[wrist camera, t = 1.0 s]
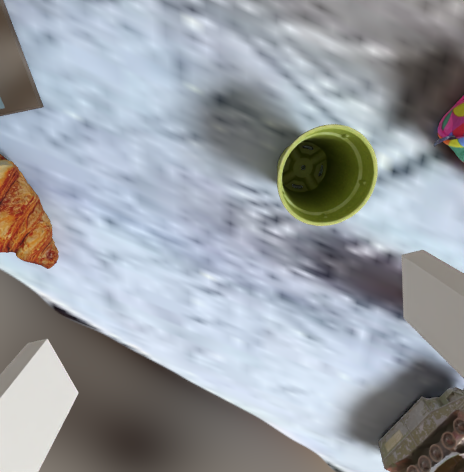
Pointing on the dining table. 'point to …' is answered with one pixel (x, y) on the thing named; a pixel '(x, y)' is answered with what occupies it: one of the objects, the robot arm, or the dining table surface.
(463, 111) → the pencil case
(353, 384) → the dining table surface
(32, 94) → the board
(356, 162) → the plant pot
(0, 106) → the socket
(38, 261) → the croissant
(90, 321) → the dining table surface
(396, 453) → the olive toy tank
